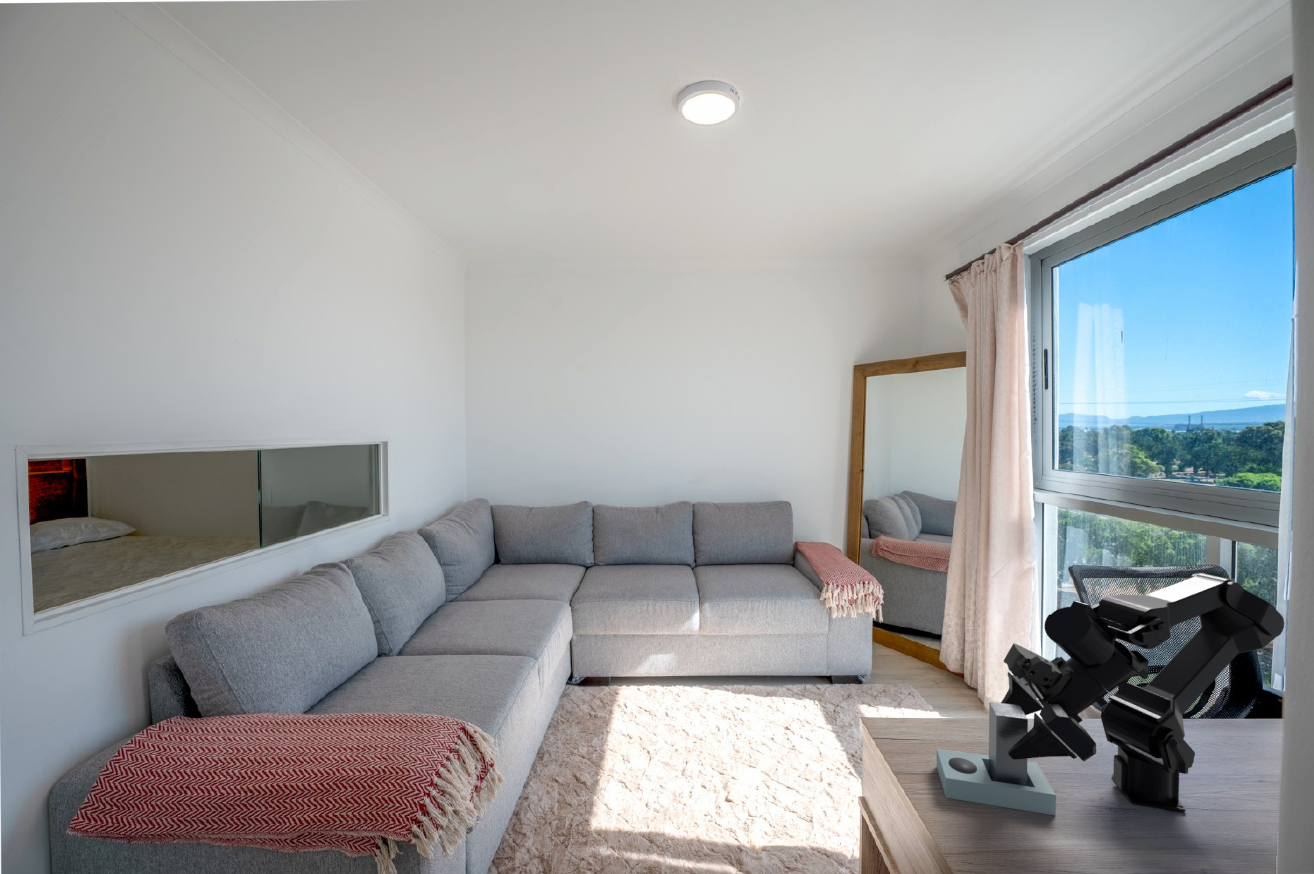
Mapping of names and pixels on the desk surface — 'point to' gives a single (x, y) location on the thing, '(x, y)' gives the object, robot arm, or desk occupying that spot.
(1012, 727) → the square bit
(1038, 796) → the socket block
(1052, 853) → the desk surface
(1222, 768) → the desk surface
